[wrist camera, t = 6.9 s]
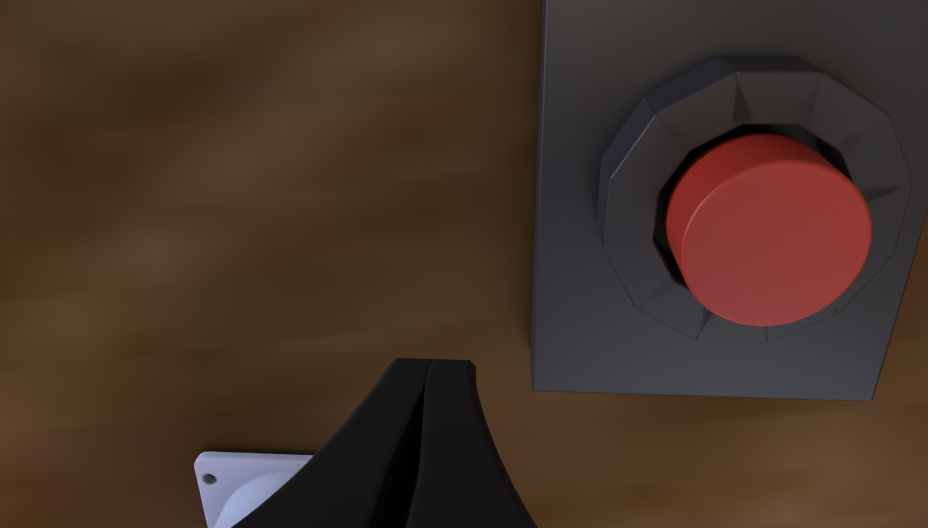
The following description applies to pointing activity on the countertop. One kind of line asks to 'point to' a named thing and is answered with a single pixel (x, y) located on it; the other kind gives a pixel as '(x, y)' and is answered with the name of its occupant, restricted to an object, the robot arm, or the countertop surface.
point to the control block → (677, 145)
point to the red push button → (766, 230)
